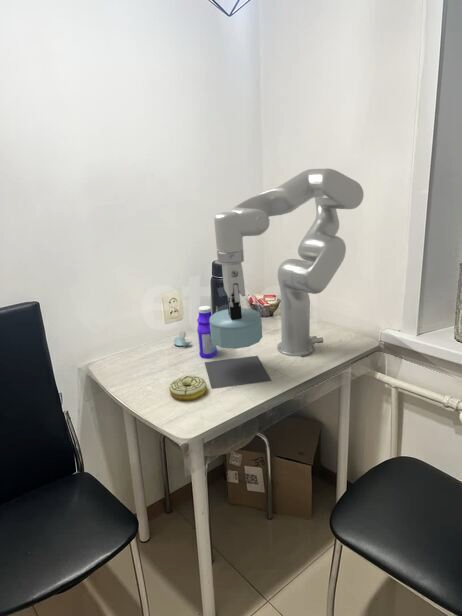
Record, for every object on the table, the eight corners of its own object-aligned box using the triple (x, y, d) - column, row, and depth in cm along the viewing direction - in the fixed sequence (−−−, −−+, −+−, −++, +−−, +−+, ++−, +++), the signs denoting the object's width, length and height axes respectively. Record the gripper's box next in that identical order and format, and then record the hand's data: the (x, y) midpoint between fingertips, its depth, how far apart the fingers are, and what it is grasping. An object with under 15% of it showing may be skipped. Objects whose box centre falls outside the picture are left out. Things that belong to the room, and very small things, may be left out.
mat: (257, 356, 139) (257, 355, 139) (271, 381, 122) (271, 380, 122) (204, 363, 136) (204, 362, 136) (211, 390, 119) (211, 388, 119)
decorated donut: (191, 380, 126) (190, 369, 125) (214, 392, 118) (213, 380, 117) (162, 394, 119) (161, 382, 118) (185, 407, 112) (184, 395, 110)
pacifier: (179, 352, 146) (193, 346, 150) (177, 336, 144) (191, 331, 148) (168, 346, 152) (182, 341, 155) (166, 331, 149) (180, 326, 153)
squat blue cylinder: (255, 325, 134) (253, 292, 130) (267, 344, 120) (265, 307, 116) (208, 331, 132) (205, 298, 128) (215, 351, 118) (211, 314, 114)
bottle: (213, 360, 138) (210, 311, 133) (197, 359, 139) (193, 310, 134) (218, 351, 145) (215, 304, 139) (203, 350, 146) (199, 303, 140)
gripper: (249, 261, 110) (253, 324, 116) (237, 249, 126) (241, 306, 132) (222, 264, 109) (227, 328, 115) (213, 252, 125) (218, 309, 131)
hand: (235, 316), depth 123 cm, fingers closed on squat blue cylinder, 3 cm apart
